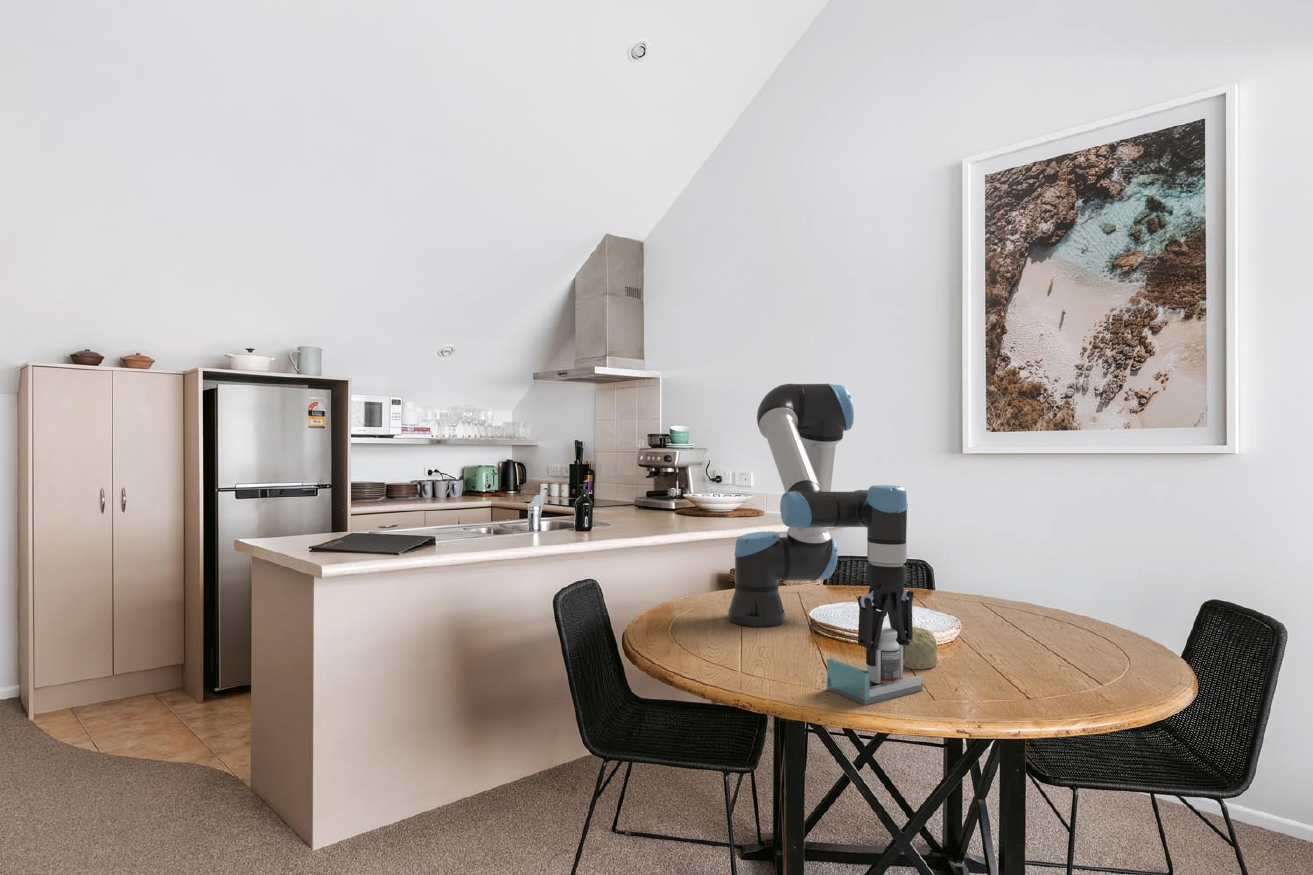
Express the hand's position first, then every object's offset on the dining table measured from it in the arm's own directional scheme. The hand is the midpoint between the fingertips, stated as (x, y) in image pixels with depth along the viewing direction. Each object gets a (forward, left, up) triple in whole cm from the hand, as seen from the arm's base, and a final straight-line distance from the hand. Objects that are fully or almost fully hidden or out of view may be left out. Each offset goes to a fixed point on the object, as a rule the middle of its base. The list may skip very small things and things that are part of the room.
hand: (885, 678), depth 153 cm
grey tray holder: (+3, 0, -2) cm, 3 cm away
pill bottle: (0, 0, -1) cm, 1 cm away
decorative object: (-18, -8, -2) cm, 20 cm away
